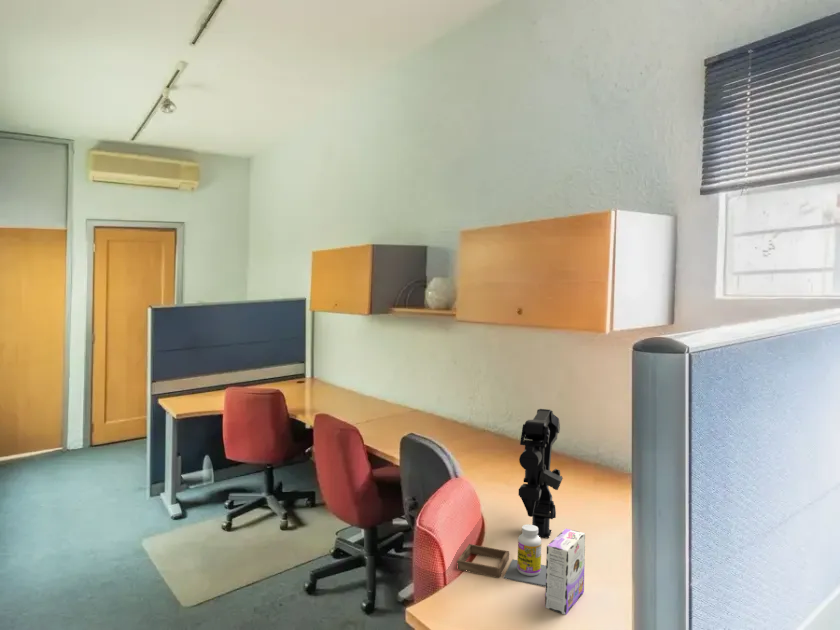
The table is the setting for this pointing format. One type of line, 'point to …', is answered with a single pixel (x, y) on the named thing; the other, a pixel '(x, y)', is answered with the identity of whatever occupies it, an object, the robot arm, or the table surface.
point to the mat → (515, 575)
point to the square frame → (481, 568)
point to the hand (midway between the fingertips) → (533, 511)
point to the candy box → (565, 571)
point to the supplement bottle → (529, 551)
